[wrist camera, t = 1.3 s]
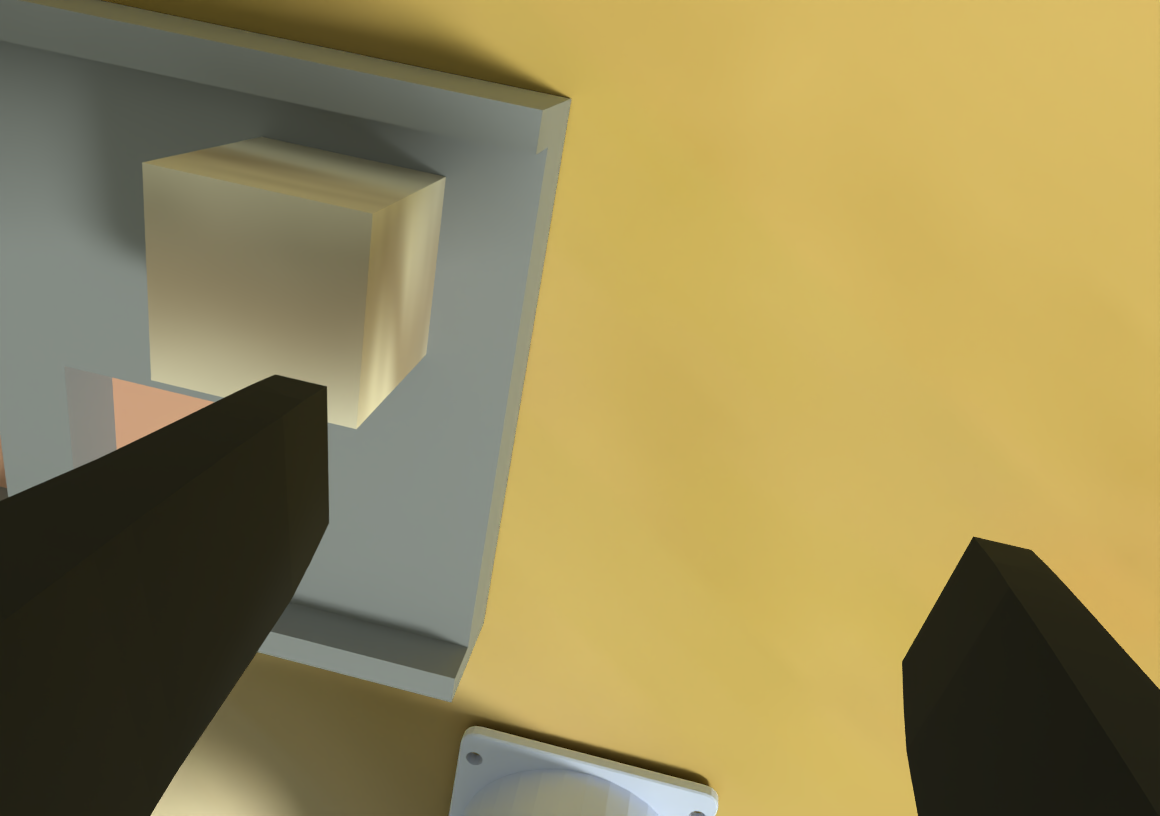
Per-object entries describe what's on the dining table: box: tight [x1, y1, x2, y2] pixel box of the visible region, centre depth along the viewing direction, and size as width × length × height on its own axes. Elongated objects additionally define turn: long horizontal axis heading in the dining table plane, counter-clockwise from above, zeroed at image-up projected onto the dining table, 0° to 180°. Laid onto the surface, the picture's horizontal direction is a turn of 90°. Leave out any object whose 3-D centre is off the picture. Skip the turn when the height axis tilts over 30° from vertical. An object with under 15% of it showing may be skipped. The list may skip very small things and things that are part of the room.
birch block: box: [142, 137, 446, 429], centre depth 16 cm, size 4×4×4 cm
